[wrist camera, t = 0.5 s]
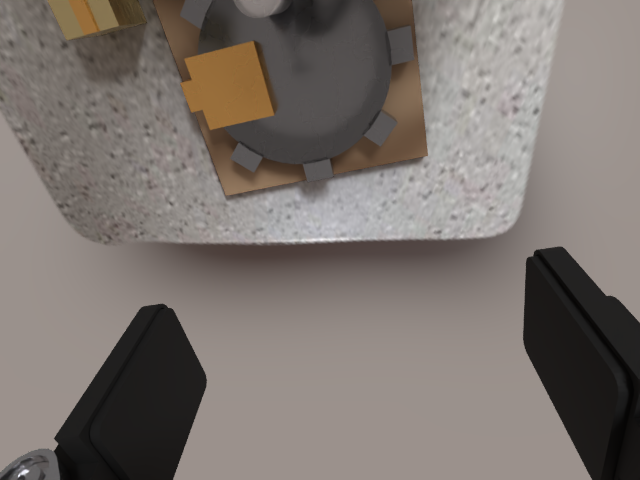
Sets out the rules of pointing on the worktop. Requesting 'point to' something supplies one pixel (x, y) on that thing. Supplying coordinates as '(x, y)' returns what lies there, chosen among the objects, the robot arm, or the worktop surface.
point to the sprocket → (294, 76)
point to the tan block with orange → (95, 16)
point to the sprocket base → (364, 154)
